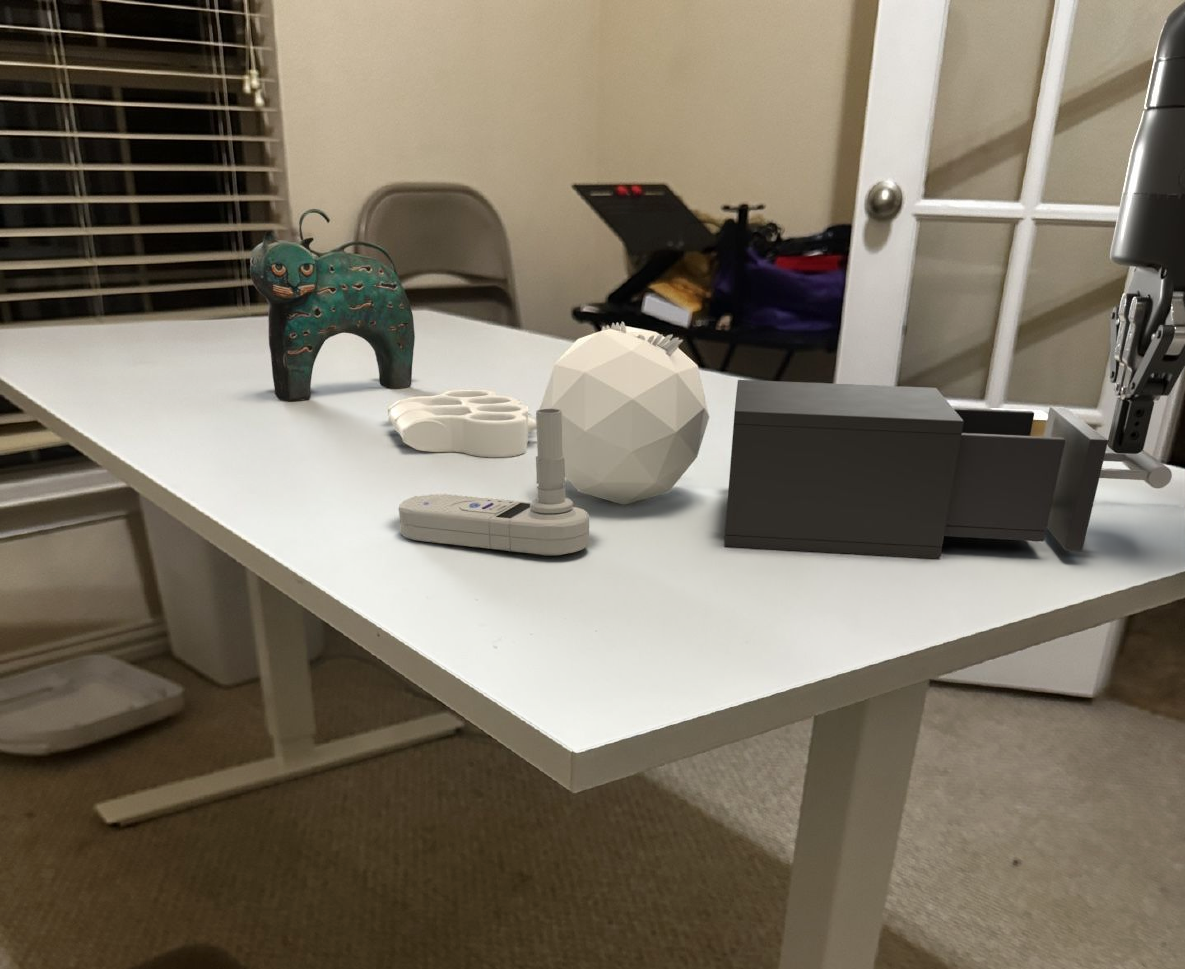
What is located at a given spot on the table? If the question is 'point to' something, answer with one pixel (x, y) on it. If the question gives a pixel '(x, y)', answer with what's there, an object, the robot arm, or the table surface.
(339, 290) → the ceramic cat
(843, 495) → the dark grey box
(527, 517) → the electronic device
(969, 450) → the open drawer
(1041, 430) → the block
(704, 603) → the table surface
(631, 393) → the geodesic sphere
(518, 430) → the white tray with wells
